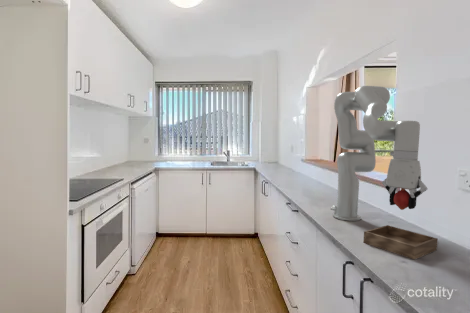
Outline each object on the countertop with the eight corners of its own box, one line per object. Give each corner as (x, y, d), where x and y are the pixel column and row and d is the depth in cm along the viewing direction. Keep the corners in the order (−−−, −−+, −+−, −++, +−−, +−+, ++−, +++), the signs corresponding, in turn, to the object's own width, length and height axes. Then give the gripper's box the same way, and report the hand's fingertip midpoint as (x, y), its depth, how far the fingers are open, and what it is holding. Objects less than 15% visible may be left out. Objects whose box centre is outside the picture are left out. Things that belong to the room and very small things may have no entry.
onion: (393, 207, 114) (394, 185, 113) (411, 209, 111) (412, 187, 110) (392, 210, 109) (393, 187, 108) (410, 212, 106) (412, 189, 105)
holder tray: (363, 242, 114) (364, 231, 113) (386, 235, 123) (387, 225, 122) (414, 259, 99) (415, 246, 98) (436, 250, 108) (437, 238, 108)
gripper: (376, 154, 113) (373, 202, 115) (426, 158, 99) (422, 213, 100) (387, 154, 118) (384, 200, 119) (437, 157, 103) (433, 210, 105)
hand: (402, 206), depth 110 cm, fingers closed on onion, 5 cm apart
